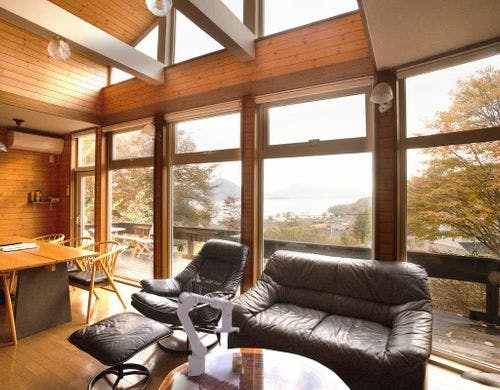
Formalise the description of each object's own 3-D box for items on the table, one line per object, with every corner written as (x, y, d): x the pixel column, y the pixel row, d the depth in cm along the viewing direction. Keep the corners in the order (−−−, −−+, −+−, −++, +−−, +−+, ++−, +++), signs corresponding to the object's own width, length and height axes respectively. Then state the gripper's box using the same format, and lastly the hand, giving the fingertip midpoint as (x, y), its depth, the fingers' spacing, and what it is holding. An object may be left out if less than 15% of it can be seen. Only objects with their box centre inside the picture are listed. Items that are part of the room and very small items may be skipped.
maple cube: (233, 365, 162) (233, 356, 162) (232, 361, 167) (232, 353, 167) (241, 364, 163) (241, 356, 163) (240, 360, 167) (240, 352, 168)
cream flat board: (229, 375, 160) (229, 374, 160) (228, 367, 169) (228, 366, 169) (249, 373, 162) (249, 372, 162) (247, 365, 171) (247, 364, 171)
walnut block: (233, 373, 162) (233, 365, 162) (232, 368, 167) (232, 361, 167) (242, 372, 163) (242, 364, 163) (240, 367, 167) (241, 360, 168)
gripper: (214, 324, 169) (214, 349, 168) (239, 322, 172) (239, 347, 171) (213, 320, 176) (213, 343, 175) (238, 318, 178) (238, 341, 178)
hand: (226, 345), depth 173 cm, fingers open, 7 cm apart
